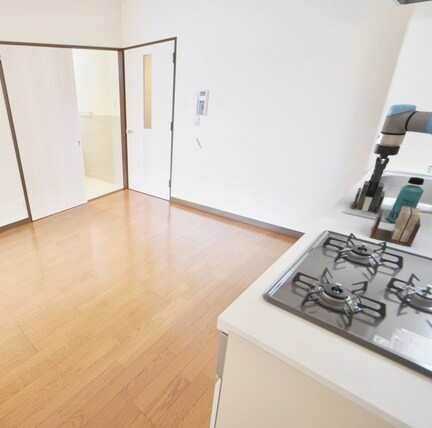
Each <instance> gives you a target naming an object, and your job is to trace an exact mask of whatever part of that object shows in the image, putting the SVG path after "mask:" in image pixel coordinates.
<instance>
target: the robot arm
mask: <svg viewBox="0 0 432 428" xmlns="http://www.w3.org/2000/svg"><path fill="white" fill-rule="evenodd" d="M407 132H411V133H412V132H413V133H420V134H428V135H431V136H432V111H420V110H417V105H415V104H409V103H408V104H405V103H403V104H401V103H400V104H399V103H397V104H393V105H391V106H390V107H389V109H388V111H387V113H386V115H385V119H384V121H383V124H382V127H381V130H380V133H379V135H377V136H376V139H377V141H376V142H377V143H376V144H375V147H374V149H373V154H376V155H379V156H376V159H375V164H374V169H373V171H372V173H371V175H370V176H371V177H370V179H369V180H368V181H369V182H370V184H369V187H368V190H367V192H366V195H365V196H366V197H372V198H373V197H374V194H375V192H376V189H377V187H378V184H379V183H381V179H382V176H383V174H384V171H385V170H386V168H387V165H388V164H389V162H390V157H389V156H391V157H392V156H397V155H398V154H399V152H400V149H401V145H403V142H404V139H405V137H406V134H407Z"/></svg>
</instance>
